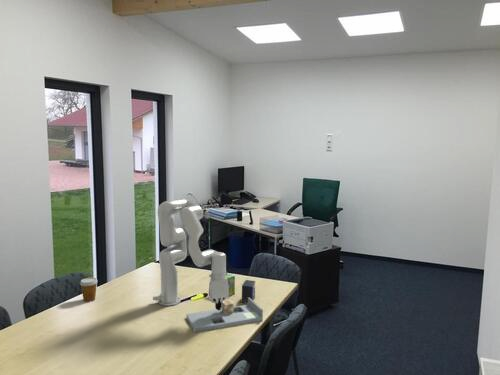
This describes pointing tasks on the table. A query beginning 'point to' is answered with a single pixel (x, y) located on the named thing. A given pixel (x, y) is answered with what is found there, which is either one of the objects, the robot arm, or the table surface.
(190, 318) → the trap deck
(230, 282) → the chalk box
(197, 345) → the table surface
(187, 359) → the table surface
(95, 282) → the disposable coffee cup
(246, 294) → the small box
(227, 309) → the beech block
